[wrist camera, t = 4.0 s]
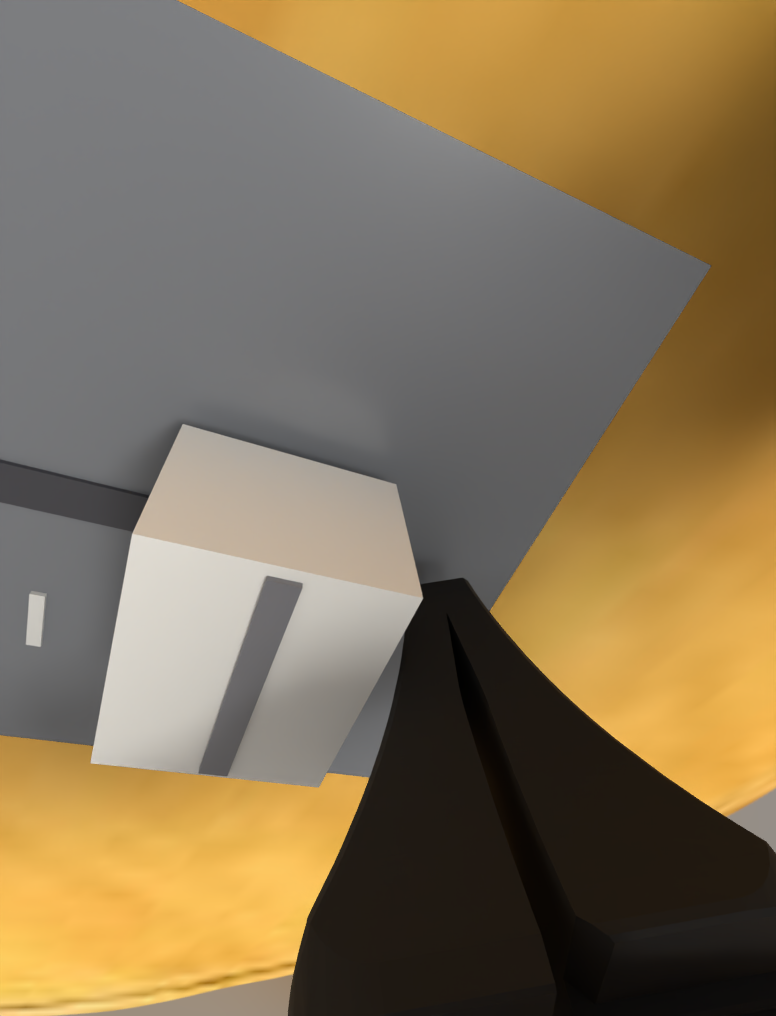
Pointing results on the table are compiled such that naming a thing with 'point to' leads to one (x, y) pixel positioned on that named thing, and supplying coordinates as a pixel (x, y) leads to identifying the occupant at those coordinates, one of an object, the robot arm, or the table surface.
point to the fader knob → (253, 614)
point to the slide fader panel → (275, 320)
